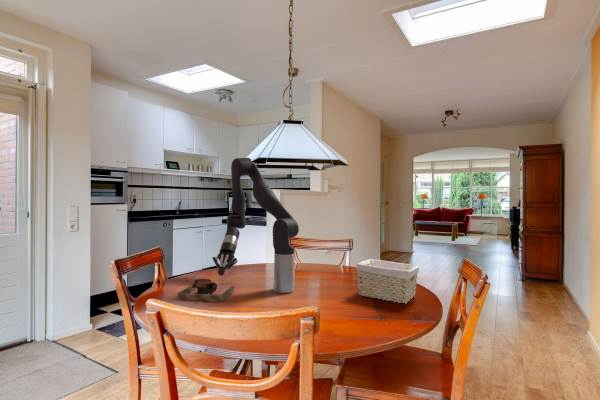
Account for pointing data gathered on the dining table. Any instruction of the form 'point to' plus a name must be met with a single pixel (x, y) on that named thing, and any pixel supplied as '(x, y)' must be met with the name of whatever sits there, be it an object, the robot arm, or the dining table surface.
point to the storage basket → (387, 280)
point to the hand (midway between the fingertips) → (220, 275)
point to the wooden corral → (204, 295)
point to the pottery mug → (204, 286)
